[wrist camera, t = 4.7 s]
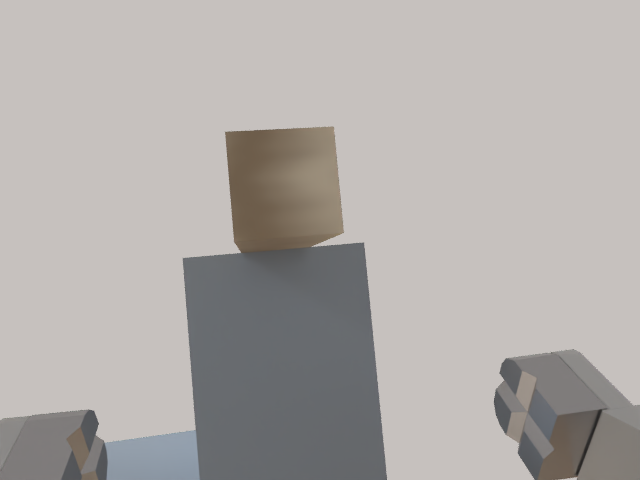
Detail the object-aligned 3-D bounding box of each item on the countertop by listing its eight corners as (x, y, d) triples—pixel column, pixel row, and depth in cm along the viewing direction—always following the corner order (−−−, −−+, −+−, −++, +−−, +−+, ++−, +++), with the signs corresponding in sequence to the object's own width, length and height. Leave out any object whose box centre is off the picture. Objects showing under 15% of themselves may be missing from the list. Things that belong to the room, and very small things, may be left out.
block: (234, 241, 13) (225, 132, 13) (246, 260, 34) (242, 219, 34) (343, 232, 13) (333, 126, 13) (287, 256, 35) (283, 216, 35)
